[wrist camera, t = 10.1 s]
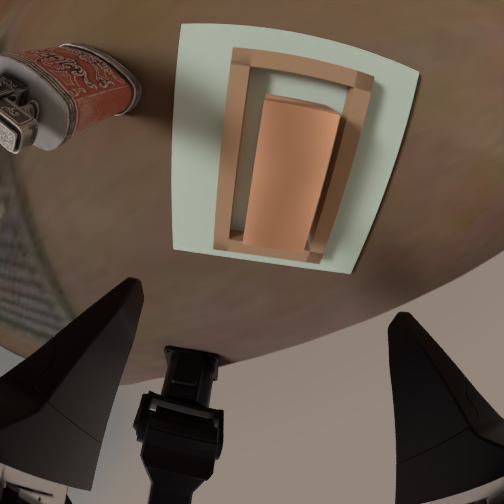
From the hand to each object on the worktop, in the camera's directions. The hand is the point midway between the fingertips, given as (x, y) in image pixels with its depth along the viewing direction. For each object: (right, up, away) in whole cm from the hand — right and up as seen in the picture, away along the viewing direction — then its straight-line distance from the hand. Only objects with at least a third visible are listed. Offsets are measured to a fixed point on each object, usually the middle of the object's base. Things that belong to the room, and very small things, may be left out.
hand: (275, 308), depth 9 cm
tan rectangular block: (+1, +7, +7) cm, 10 cm away
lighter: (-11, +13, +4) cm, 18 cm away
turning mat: (+1, +7, +8) cm, 11 cm away
